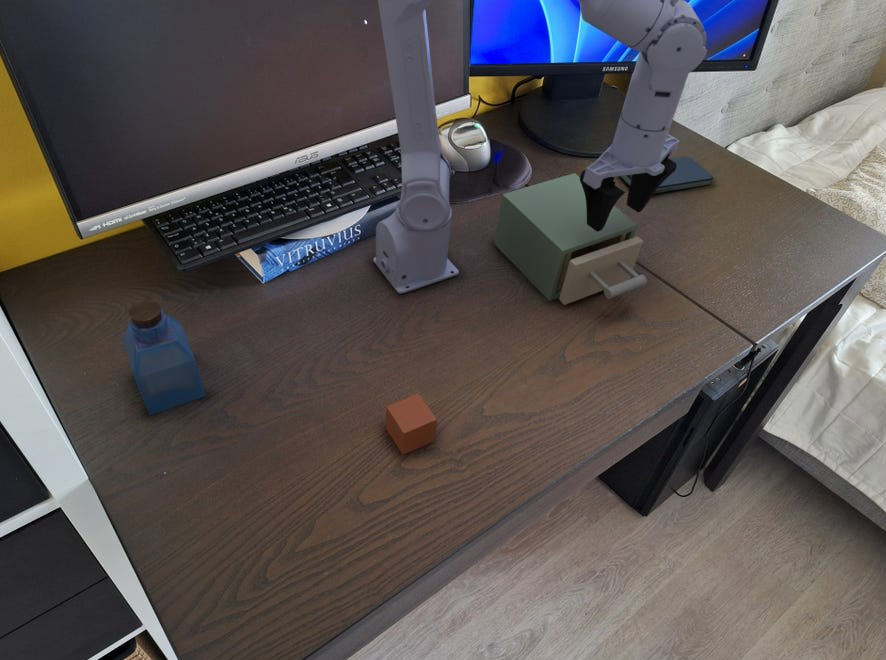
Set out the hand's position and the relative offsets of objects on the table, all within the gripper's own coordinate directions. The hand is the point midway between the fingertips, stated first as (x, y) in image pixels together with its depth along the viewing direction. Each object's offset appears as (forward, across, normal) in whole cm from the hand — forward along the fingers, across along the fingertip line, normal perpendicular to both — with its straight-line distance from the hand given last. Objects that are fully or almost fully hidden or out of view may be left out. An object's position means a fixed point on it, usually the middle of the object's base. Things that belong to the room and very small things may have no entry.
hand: (614, 217), depth 86 cm
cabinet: (+10, -2, +6) cm, 12 cm away
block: (+10, -37, -7) cm, 39 cm away
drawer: (+9, -2, +1) cm, 10 cm away
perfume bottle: (+10, -56, +14) cm, 58 cm away
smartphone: (+10, +29, +11) cm, 33 cm away
